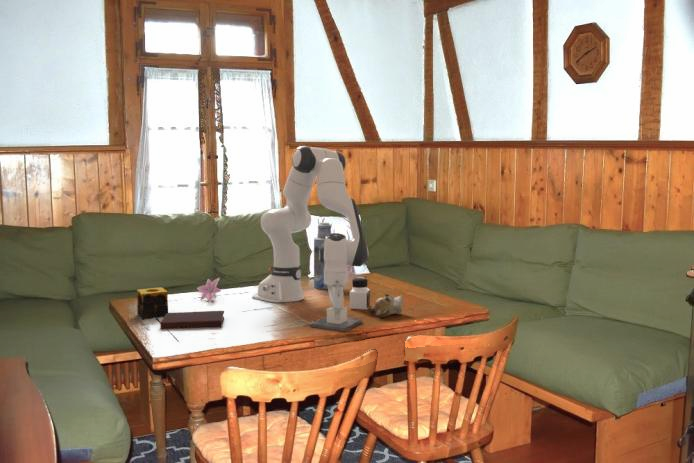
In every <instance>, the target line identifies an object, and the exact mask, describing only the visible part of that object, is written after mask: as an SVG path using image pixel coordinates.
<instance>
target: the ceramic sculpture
mask: <svg viewBox="0 0 694 463" xmlns="http://www.w3.org/2000/svg"><path fill="white" fill-rule="evenodd" d="M403 297H404V296H403V295H402V294H401V295H398V296H395V297H393V296H392V295H391V294H386V293H385V294H384V296H383V297H379V298H377V299H376V301H375V302H374V305H371V307H370V306H369V307H368V309H364V310H363V312H365V313H368V314H375V315H374V316H375V317H378V318H383V317H384V318H385V317H389V316H391V315H393V314H394V315H401V313H403V312H402V310H403V305H404V304H403V303H404V301H403V300H404V299H403Z"/></svg>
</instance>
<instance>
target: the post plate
mask: <svg viewBox="0 0 694 463" xmlns="http://www.w3.org/2000/svg"><path fill="white" fill-rule="evenodd" d="M360 323H361V324H363V319H361V318H354V317H347V321H345V322H343V323H341V324H336V323H329V322H327V316H324V317H322V318H320V319H317V320H316V321H313V322H311V323H309V326H310V328H316V329H322V328H323V330H329V331H338V332H342V333H343V332H346V331H349V330H351V329H352V327H353V328H354V326H355V327H356V325H357V326H358V324H359V325H360ZM350 328H351V329H350Z"/></svg>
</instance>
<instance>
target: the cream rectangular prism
mask: <svg viewBox="0 0 694 463" xmlns="http://www.w3.org/2000/svg"><path fill="white" fill-rule="evenodd" d="M326 317H327V322H329V323H336V324H341V323H343V322H345V321H347V318H348V306H344V307H343V309H341V312H340V319H339V320H336V319H335V309H333V306H332V305H331V306H329V307H327V308H326Z"/></svg>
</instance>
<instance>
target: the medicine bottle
mask: <svg viewBox="0 0 694 463" xmlns="http://www.w3.org/2000/svg"><path fill="white" fill-rule="evenodd" d="M351 284H352V285H351V286H352V289H351V290H350V291H349V309H350V310H363V311H364V309H369V308H370V305H371V289H370V288H368V279H367V278H365V277H355V278H353V279H352V283H351Z"/></svg>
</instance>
